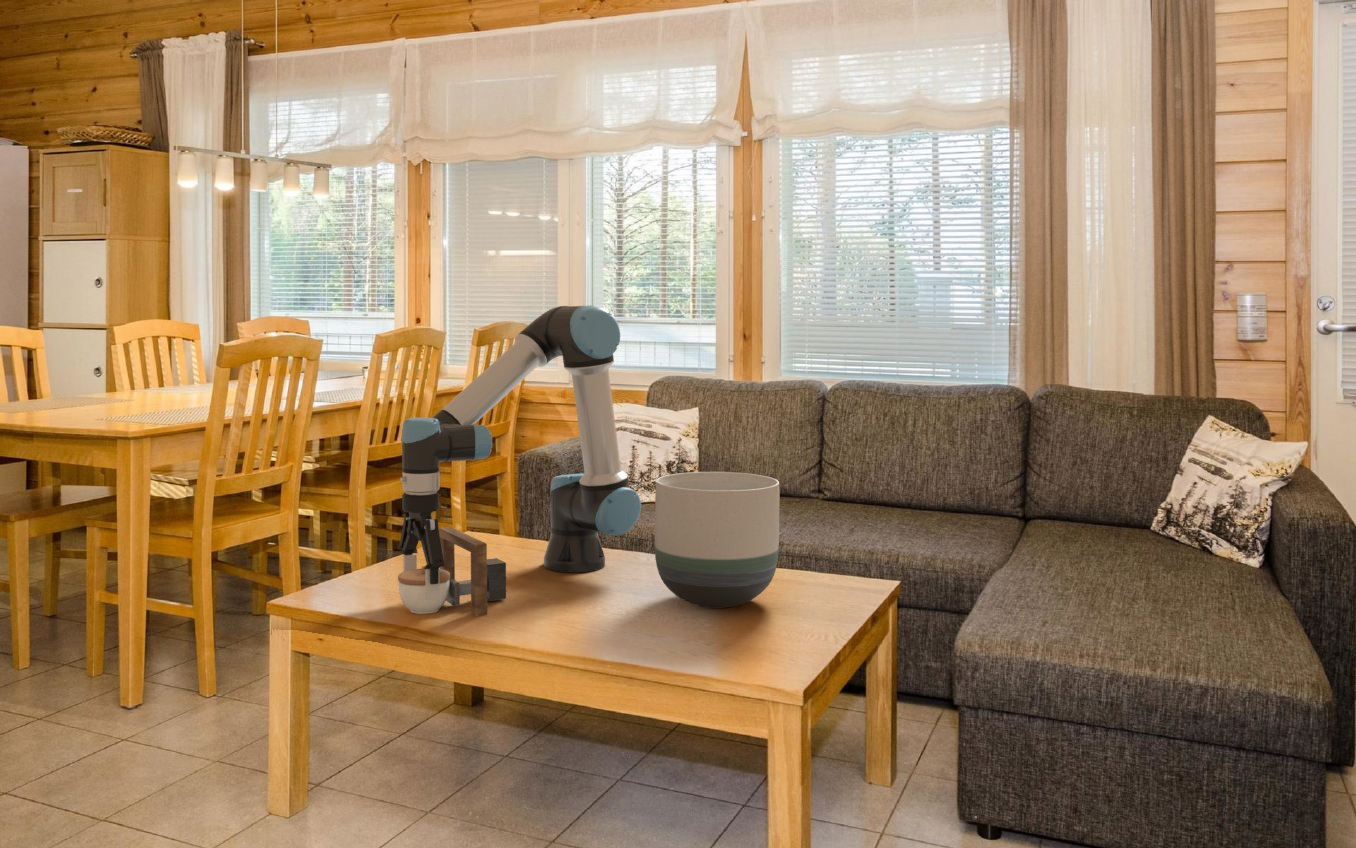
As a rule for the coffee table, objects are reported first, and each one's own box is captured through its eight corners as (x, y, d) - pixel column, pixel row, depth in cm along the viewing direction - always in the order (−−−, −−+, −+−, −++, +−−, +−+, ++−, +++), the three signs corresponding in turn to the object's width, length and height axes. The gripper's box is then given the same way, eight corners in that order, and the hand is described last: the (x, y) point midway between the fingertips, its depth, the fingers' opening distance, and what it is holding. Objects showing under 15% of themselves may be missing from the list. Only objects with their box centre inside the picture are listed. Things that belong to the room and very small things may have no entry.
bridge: (450, 592, 243) (450, 526, 241) (487, 614, 226) (486, 543, 224) (440, 594, 241) (439, 527, 240) (475, 616, 224) (475, 545, 223)
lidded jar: (440, 618, 223) (439, 573, 222) (390, 616, 224) (389, 571, 223) (457, 604, 233) (457, 561, 232) (409, 602, 235) (409, 559, 234)
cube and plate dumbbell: (493, 591, 242) (492, 556, 241) (509, 600, 235) (509, 564, 234) (439, 599, 235) (439, 563, 235) (455, 608, 228) (454, 571, 227)
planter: (790, 594, 245) (792, 475, 242) (759, 626, 219) (761, 494, 217) (678, 583, 253) (679, 468, 251) (636, 612, 228) (636, 486, 225)
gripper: (383, 484, 234) (384, 581, 236) (424, 502, 214) (424, 607, 216) (417, 482, 239) (417, 577, 241) (460, 499, 218) (460, 602, 220)
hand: (420, 591), depth 228 cm, fingers open, 13 cm apart
